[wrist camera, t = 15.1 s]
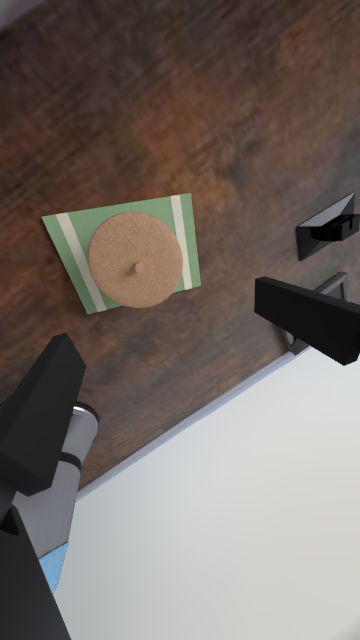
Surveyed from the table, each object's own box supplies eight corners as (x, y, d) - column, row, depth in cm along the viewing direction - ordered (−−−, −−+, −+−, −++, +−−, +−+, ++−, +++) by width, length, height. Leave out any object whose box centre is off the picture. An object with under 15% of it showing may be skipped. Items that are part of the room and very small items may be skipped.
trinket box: (127, 303, 30) (128, 329, 21) (80, 242, 24) (56, 247, 16) (181, 269, 29) (201, 283, 21) (145, 201, 24) (155, 185, 16)
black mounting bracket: (352, 192, 33) (384, 186, 29) (350, 231, 36) (378, 230, 32) (296, 226, 32) (320, 225, 28) (299, 262, 36) (321, 265, 32)
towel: (88, 313, 29) (87, 314, 29) (43, 217, 22) (40, 216, 22) (199, 285, 32) (201, 286, 32) (189, 193, 26) (190, 192, 25)
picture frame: (289, 351, 48) (344, 311, 47) (295, 355, 46) (353, 314, 45) (276, 318, 41) (340, 271, 40) (282, 322, 40) (350, 273, 39)
